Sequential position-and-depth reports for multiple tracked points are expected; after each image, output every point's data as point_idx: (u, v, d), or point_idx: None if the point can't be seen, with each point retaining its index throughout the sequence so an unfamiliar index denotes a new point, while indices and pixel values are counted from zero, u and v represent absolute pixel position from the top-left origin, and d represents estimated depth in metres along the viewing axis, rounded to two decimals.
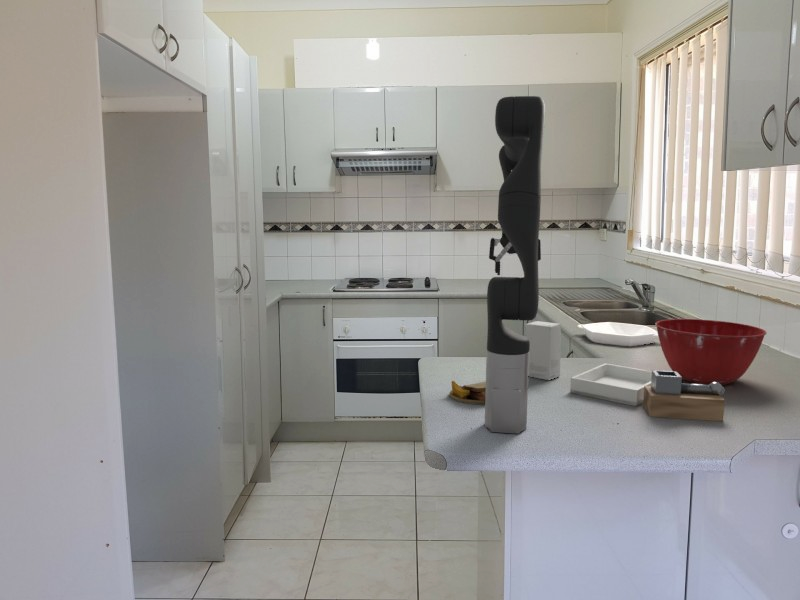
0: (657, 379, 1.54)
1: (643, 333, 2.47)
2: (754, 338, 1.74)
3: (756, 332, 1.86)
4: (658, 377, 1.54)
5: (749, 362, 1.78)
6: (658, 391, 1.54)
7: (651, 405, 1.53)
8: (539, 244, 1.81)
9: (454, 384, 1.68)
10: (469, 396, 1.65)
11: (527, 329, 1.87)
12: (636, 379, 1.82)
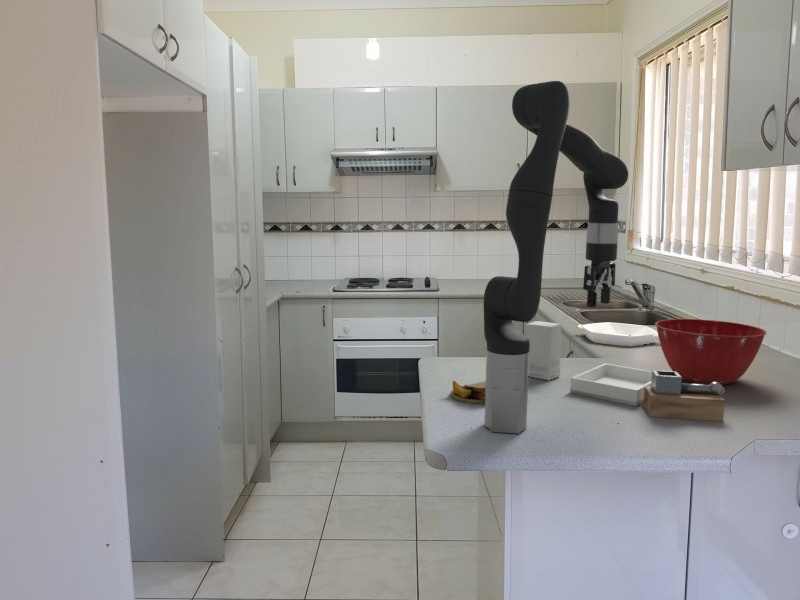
0: (657, 379, 1.54)
1: (643, 333, 2.47)
2: (754, 338, 1.74)
3: (756, 332, 1.86)
4: (658, 377, 1.54)
5: (749, 362, 1.78)
6: (658, 391, 1.54)
7: (651, 405, 1.53)
8: (614, 268, 1.70)
9: (455, 384, 1.68)
10: (470, 396, 1.65)
11: (527, 329, 1.87)
12: (636, 379, 1.82)
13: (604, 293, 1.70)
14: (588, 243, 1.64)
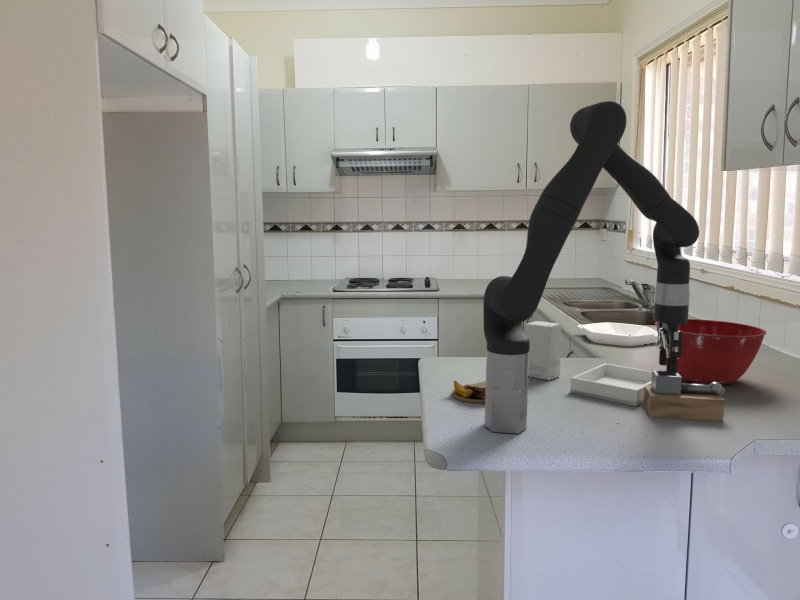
0: (657, 379, 1.54)
1: (643, 333, 2.47)
2: (754, 338, 1.74)
3: (756, 332, 1.86)
4: (658, 377, 1.54)
5: (749, 362, 1.78)
6: (658, 391, 1.54)
7: (651, 405, 1.53)
8: None
9: (456, 384, 1.68)
10: (472, 396, 1.65)
11: (527, 329, 1.87)
12: (636, 379, 1.82)
13: (664, 354, 1.60)
14: (664, 305, 1.51)
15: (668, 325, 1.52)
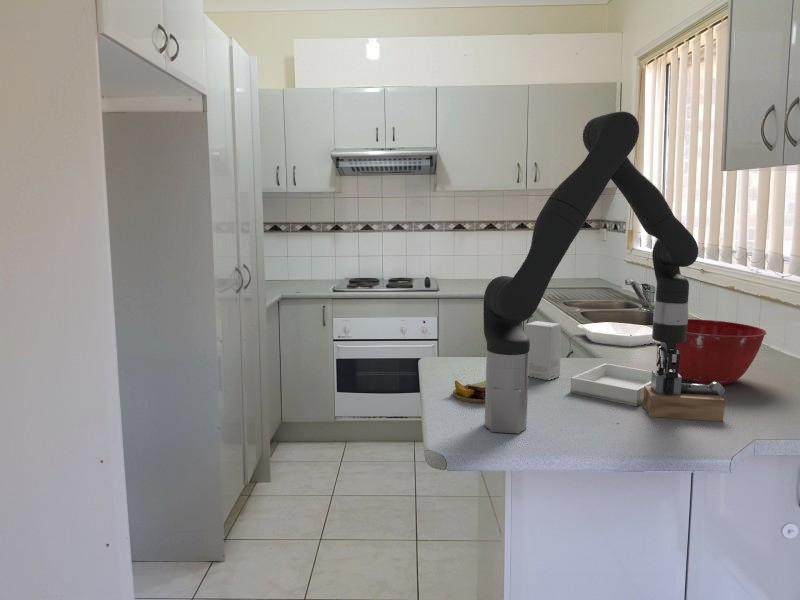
0: (657, 379, 1.54)
1: (643, 333, 2.47)
2: (754, 338, 1.74)
3: (756, 332, 1.86)
4: (658, 377, 1.54)
5: (749, 362, 1.78)
6: (658, 391, 1.54)
7: (651, 405, 1.53)
8: None
9: (457, 384, 1.68)
10: (473, 395, 1.66)
11: (527, 329, 1.87)
12: (636, 379, 1.82)
13: None
14: (663, 324, 1.52)
15: (667, 344, 1.52)
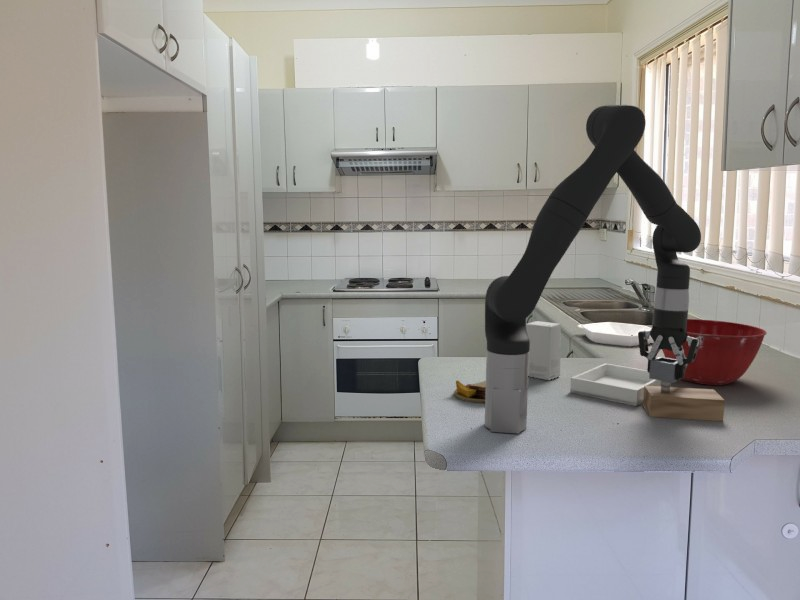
0: (675, 367, 1.52)
1: None
2: (754, 338, 1.74)
3: (756, 332, 1.86)
4: (675, 365, 1.52)
5: (749, 362, 1.78)
6: (674, 379, 1.53)
7: (651, 405, 1.53)
8: None
9: (459, 383, 1.68)
10: (475, 395, 1.66)
11: (527, 329, 1.87)
12: (636, 379, 1.82)
13: None
14: (681, 311, 1.50)
15: (681, 330, 1.52)
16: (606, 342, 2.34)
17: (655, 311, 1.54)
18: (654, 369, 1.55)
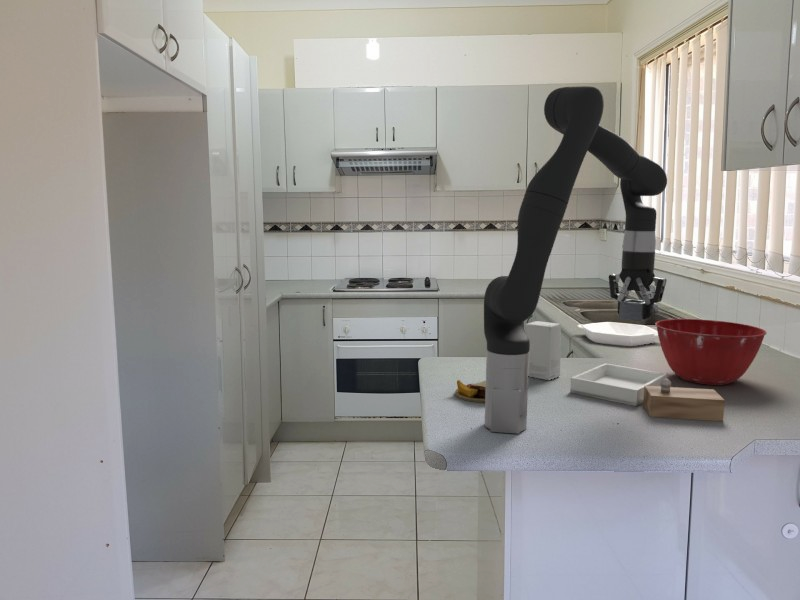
0: (642, 307, 1.59)
1: (643, 333, 2.47)
2: (754, 338, 1.74)
3: (756, 332, 1.86)
4: (642, 305, 1.59)
5: (749, 362, 1.78)
6: (642, 318, 1.59)
7: (651, 405, 1.53)
8: None
9: (460, 383, 1.69)
10: (476, 395, 1.66)
11: (527, 329, 1.87)
12: (636, 379, 1.82)
13: None
14: (647, 252, 1.57)
15: (648, 271, 1.58)
16: (607, 342, 2.34)
17: (623, 253, 1.60)
18: (623, 309, 1.62)
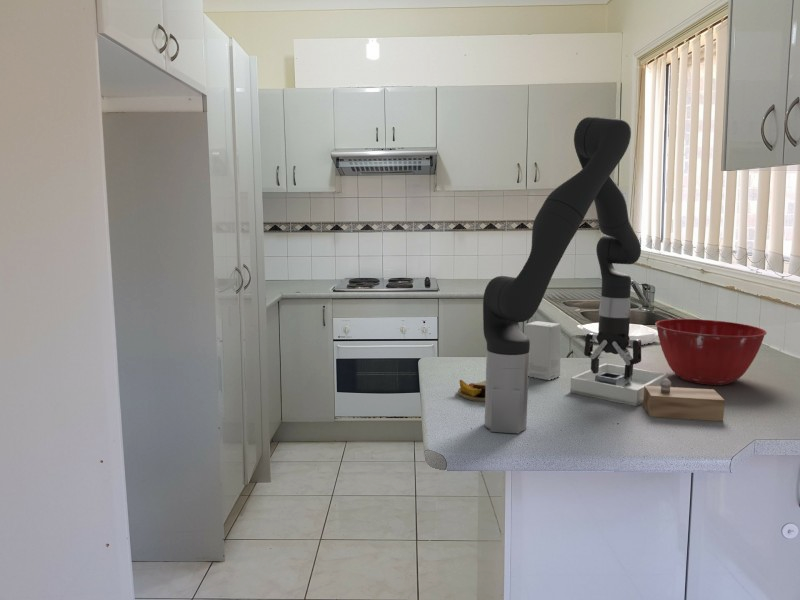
0: (616, 382, 1.67)
1: (640, 332, 2.48)
2: (754, 338, 1.74)
3: (756, 332, 1.86)
4: (617, 380, 1.67)
5: (749, 362, 1.78)
6: None
7: (651, 405, 1.53)
8: None
9: (463, 383, 1.69)
10: (479, 394, 1.67)
11: (527, 329, 1.87)
12: (636, 379, 1.82)
13: (596, 363, 1.72)
14: (622, 318, 1.65)
15: (623, 335, 1.66)
16: None
17: (600, 318, 1.68)
18: None
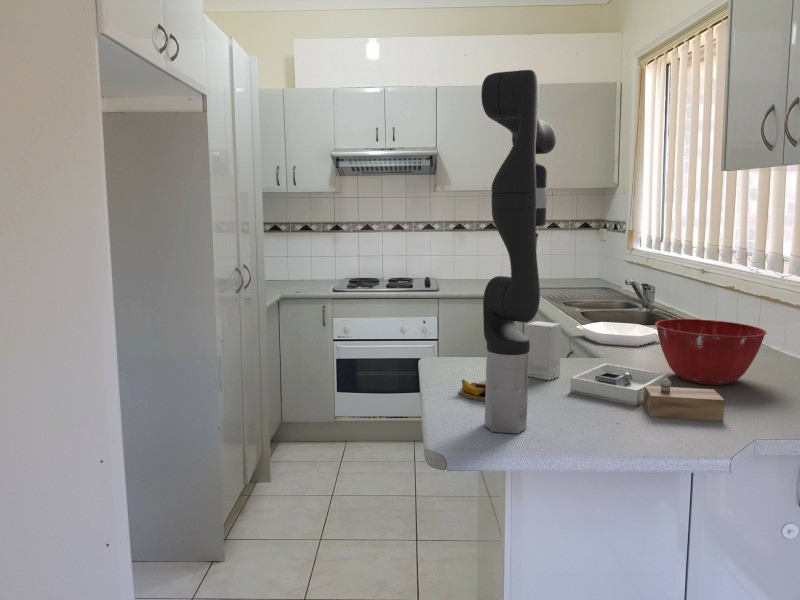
0: (616, 382, 1.67)
1: (638, 331, 2.49)
2: (754, 338, 1.74)
3: (756, 332, 1.86)
4: (617, 380, 1.67)
5: (749, 362, 1.78)
6: None
7: (651, 405, 1.53)
8: None
9: (465, 382, 1.69)
10: (482, 393, 1.67)
11: (527, 329, 1.87)
12: (636, 379, 1.82)
13: None
14: None
15: None
16: (613, 343, 2.33)
17: None
18: None
